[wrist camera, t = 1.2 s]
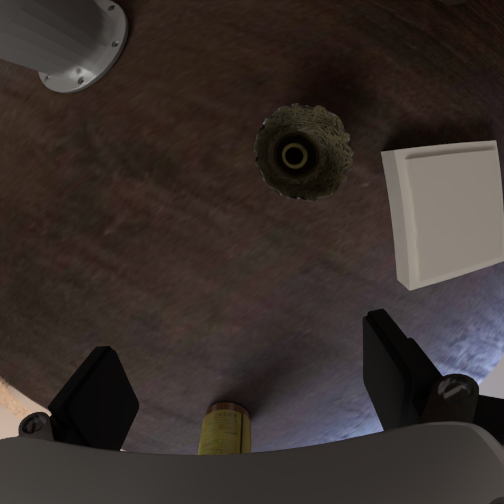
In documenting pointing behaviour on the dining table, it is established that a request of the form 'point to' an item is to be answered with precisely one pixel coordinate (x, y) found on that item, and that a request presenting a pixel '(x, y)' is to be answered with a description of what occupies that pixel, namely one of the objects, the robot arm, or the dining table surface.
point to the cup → (303, 152)
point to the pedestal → (445, 210)
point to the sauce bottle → (225, 430)
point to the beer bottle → (451, 2)
